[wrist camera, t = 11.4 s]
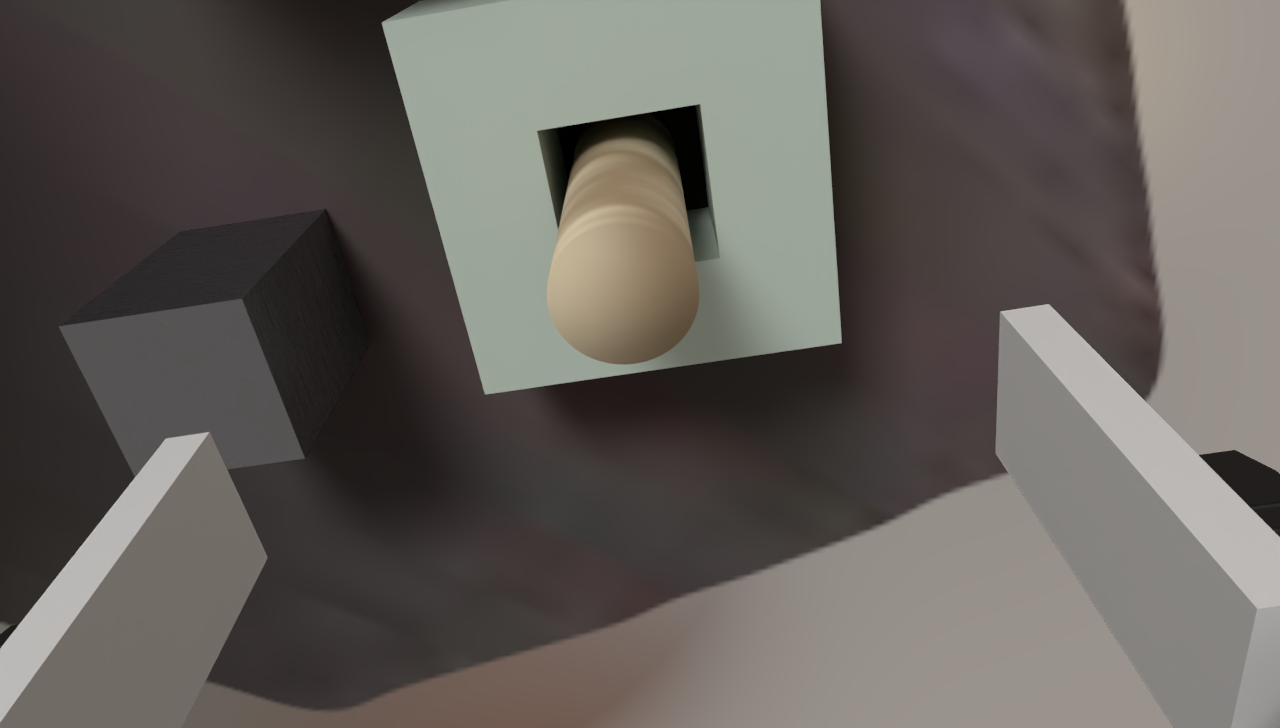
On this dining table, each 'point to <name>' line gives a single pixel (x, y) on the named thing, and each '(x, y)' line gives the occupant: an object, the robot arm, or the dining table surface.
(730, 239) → the socket block
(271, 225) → the dark grey block
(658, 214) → the birch dowel
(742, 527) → the dining table surface
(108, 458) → the dining table surface
